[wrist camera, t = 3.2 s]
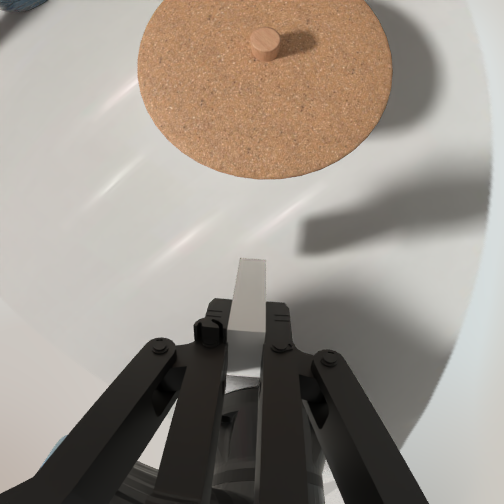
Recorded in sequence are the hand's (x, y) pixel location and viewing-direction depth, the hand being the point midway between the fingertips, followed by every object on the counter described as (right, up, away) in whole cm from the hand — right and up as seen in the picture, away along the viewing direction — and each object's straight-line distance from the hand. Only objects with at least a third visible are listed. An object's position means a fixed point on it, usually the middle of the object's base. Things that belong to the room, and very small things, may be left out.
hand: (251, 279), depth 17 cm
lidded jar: (+1, +13, -1) cm, 13 cm away
